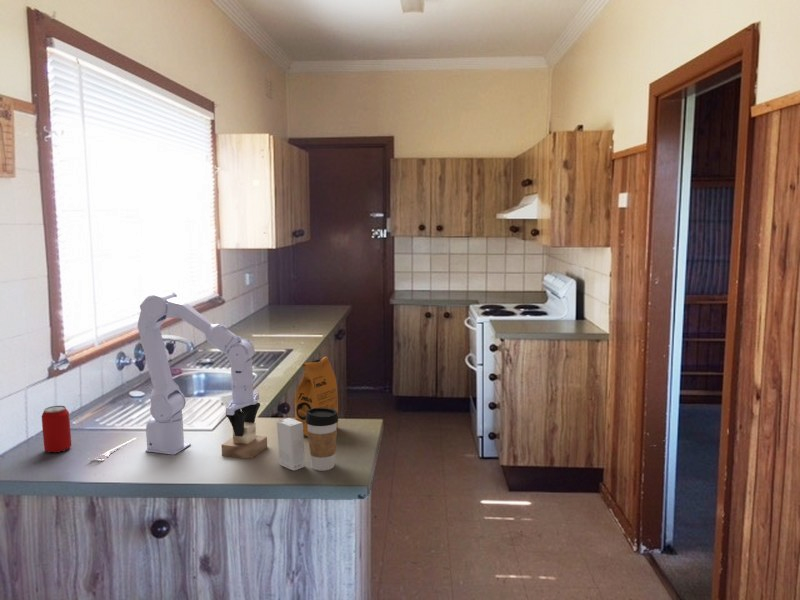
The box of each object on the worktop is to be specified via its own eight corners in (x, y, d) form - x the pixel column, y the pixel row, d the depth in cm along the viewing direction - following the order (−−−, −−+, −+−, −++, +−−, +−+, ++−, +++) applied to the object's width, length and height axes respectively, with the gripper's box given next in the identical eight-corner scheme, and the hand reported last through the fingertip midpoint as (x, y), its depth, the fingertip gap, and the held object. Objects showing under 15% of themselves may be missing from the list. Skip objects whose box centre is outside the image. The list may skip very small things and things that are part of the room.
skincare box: (306, 466, 168) (304, 422, 166) (292, 471, 164) (290, 426, 163) (291, 460, 172) (290, 416, 170) (277, 465, 169) (276, 420, 167)
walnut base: (221, 455, 175) (221, 444, 175) (238, 443, 184) (238, 433, 183) (251, 458, 173) (251, 448, 172) (267, 446, 182) (266, 436, 181)
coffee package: (290, 433, 192) (288, 362, 189) (318, 422, 202) (317, 354, 199) (314, 440, 186) (313, 366, 183) (342, 428, 196) (341, 358, 193)
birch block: (233, 442, 176) (232, 426, 176) (241, 437, 181) (240, 421, 180) (247, 444, 175) (247, 428, 175) (255, 438, 180) (255, 423, 179)
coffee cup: (307, 460, 172) (306, 406, 170) (339, 459, 172) (338, 405, 170) (305, 473, 163) (304, 416, 161) (338, 472, 164) (337, 415, 162)
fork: (141, 440, 189) (141, 434, 189) (97, 465, 169) (96, 459, 169) (132, 440, 189) (131, 433, 189) (86, 465, 170) (85, 458, 170)
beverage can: (73, 444, 184) (69, 403, 182) (70, 452, 178) (67, 410, 176) (46, 447, 182) (42, 406, 180) (42, 455, 175) (39, 413, 174)
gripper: (242, 393, 168) (244, 442, 170) (268, 378, 181) (269, 425, 183) (218, 391, 170) (220, 440, 172) (245, 377, 183) (247, 422, 185)
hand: (244, 432), depth 178 cm, fingers open, 5 cm apart
